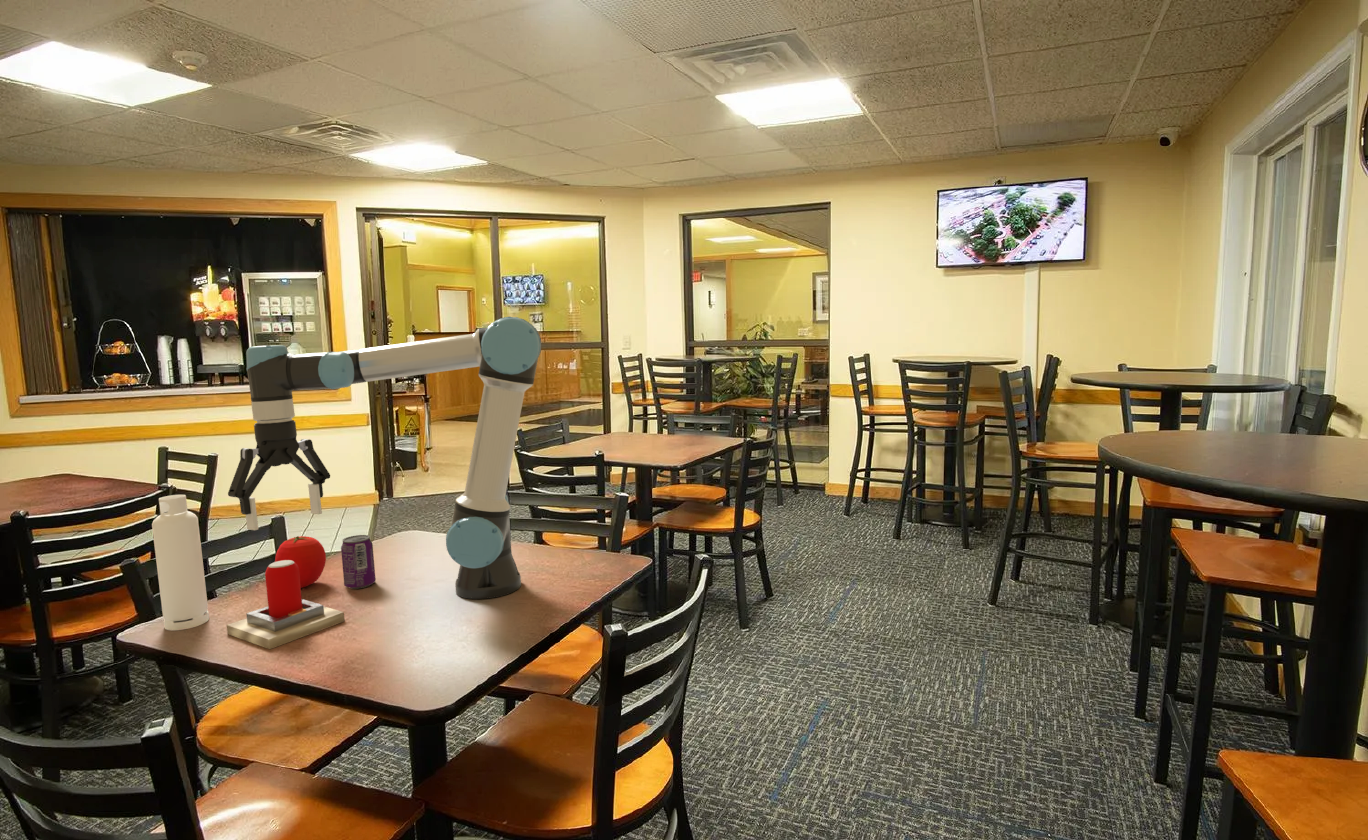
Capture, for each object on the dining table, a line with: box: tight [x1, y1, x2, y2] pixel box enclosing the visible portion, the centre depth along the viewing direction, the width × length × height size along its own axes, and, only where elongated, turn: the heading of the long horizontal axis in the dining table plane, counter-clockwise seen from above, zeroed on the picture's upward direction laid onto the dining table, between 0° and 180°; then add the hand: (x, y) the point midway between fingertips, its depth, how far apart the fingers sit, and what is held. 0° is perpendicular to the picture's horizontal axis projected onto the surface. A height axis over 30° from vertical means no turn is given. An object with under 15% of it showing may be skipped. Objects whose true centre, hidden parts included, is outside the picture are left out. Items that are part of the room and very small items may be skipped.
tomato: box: [274, 535, 327, 588], centre depth 179 cm, size 11×11×13 cm
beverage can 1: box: [264, 560, 303, 618], centre depth 153 cm, size 6×6×12 cm
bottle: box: [151, 494, 210, 631], centre depth 157 cm, size 8×8×28 cm
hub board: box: [226, 606, 345, 650], centre depth 153 cm, size 16×16×2 cm
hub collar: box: [246, 599, 325, 632], centre depth 153 cm, size 10×10×2 cm
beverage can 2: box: [340, 534, 376, 590], centre depth 178 cm, size 7×7×12 cm
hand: (286, 521), depth 152 cm, fingers open, 13 cm apart
